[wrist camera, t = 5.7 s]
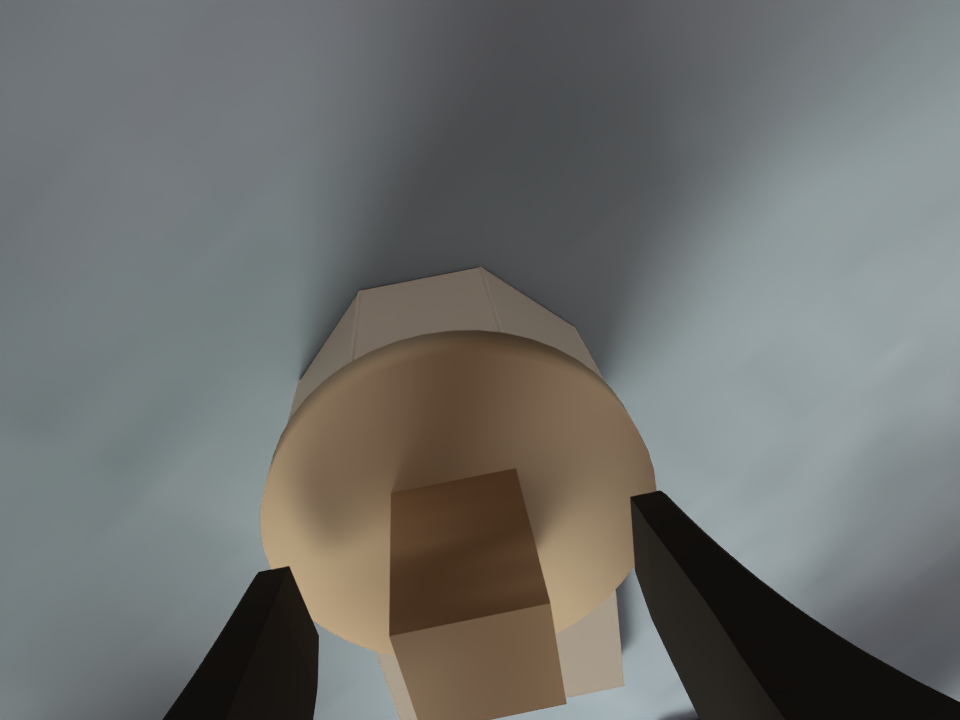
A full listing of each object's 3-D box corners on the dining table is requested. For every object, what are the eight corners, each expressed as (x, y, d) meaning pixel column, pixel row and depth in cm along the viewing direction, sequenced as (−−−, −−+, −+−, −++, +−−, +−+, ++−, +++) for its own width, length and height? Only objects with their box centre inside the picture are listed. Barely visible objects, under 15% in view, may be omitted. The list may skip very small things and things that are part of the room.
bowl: (567, 249, 17) (611, 313, 13) (591, 480, 20) (631, 579, 17) (272, 306, 17) (238, 387, 13) (349, 529, 20) (339, 639, 17)
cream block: (600, 497, 21) (609, 518, 20) (616, 661, 25) (624, 685, 24) (348, 548, 21) (346, 572, 20) (404, 705, 25) (404, 731, 24)
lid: (631, 293, 13) (732, 417, 9) (648, 589, 17) (723, 763, 13) (211, 375, 13) (131, 538, 9) (327, 654, 17) (307, 851, 13)
